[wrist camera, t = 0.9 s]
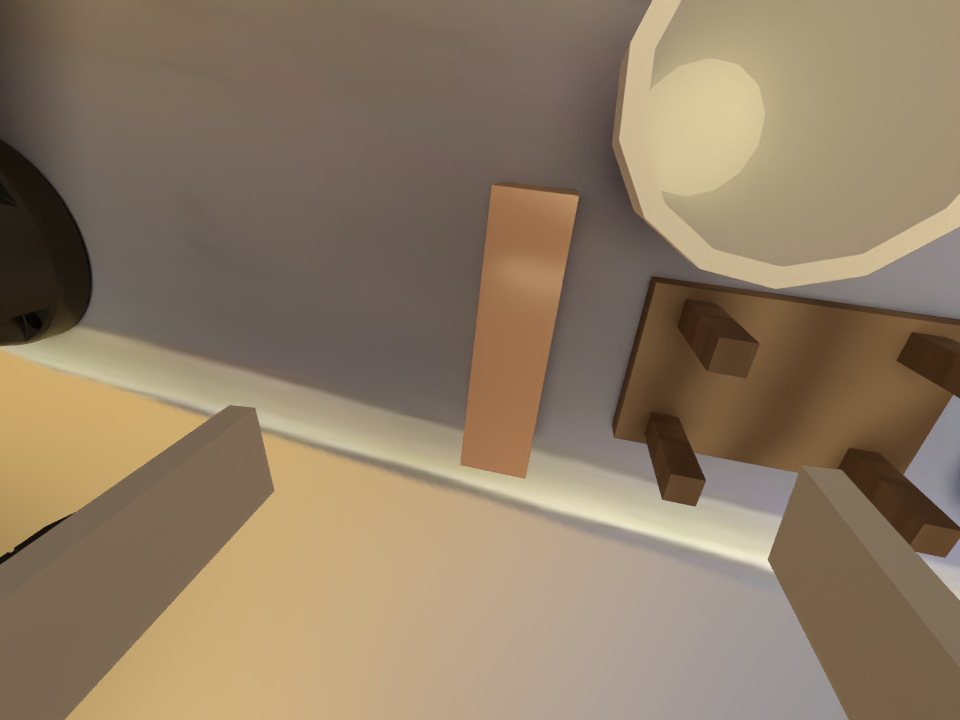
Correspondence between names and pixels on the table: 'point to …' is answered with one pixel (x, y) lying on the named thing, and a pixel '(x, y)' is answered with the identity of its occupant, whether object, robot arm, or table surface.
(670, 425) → the rack
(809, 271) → the foam cup
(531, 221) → the clay bar
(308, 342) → the table surface
